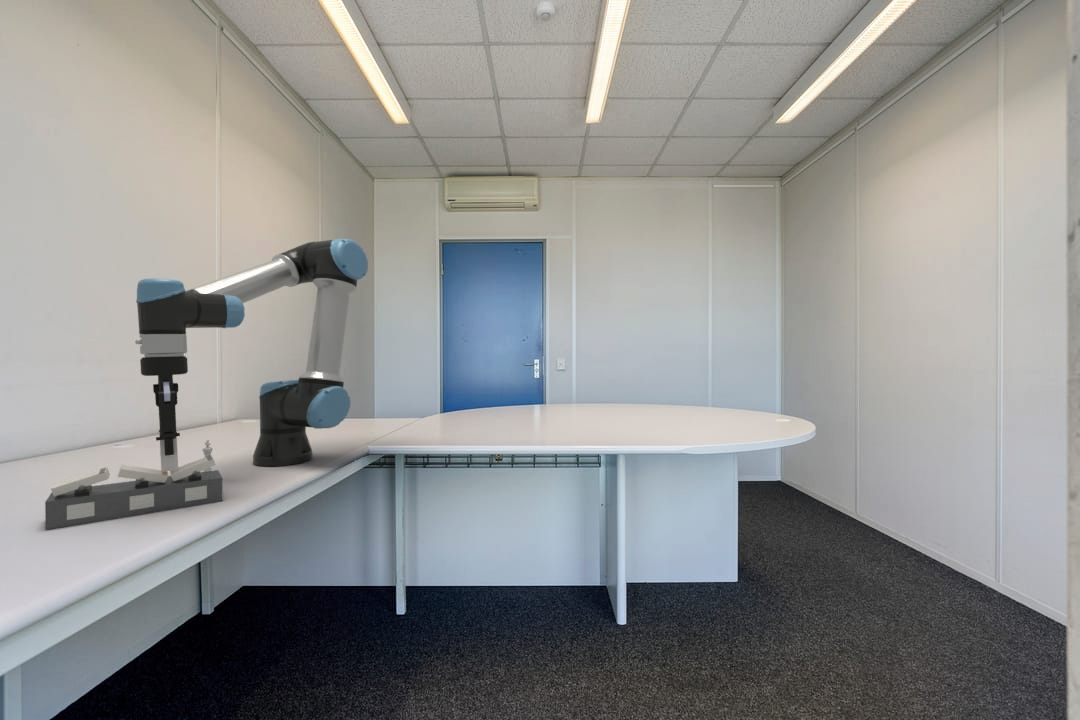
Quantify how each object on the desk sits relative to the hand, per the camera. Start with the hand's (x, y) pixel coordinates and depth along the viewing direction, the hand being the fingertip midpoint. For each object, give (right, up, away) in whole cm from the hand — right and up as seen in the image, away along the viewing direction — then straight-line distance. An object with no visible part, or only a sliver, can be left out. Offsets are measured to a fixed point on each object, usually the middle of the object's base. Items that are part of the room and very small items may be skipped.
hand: (169, 469), depth 97 cm
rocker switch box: (-4, -7, -3) cm, 8 cm away
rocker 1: (-10, -1, -8) cm, 13 cm away
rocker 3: (+3, -1, +3) cm, 4 cm away
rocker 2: (-3, -1, -3) cm, 4 cm away
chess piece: (-5, -7, +17) cm, 19 cm away
